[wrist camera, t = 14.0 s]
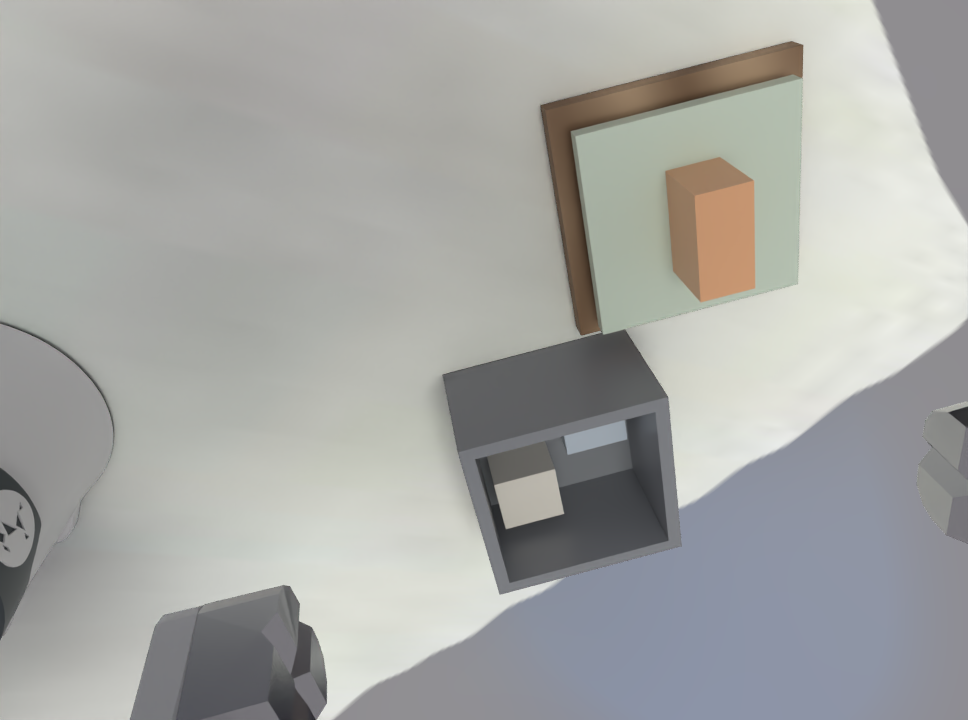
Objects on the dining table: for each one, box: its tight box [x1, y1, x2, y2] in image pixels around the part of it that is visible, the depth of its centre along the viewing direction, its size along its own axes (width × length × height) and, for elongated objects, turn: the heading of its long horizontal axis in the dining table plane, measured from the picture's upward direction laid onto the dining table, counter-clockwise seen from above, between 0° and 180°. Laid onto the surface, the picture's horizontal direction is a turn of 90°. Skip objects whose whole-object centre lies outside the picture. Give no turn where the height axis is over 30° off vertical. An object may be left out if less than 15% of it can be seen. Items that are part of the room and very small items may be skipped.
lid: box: [571, 75, 803, 335], centre depth 41 cm, size 12×12×6 cm
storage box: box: [443, 329, 682, 594], centre depth 48 cm, size 12×12×8 cm
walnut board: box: [540, 42, 803, 335], centre depth 44 cm, size 14×14×1 cm
